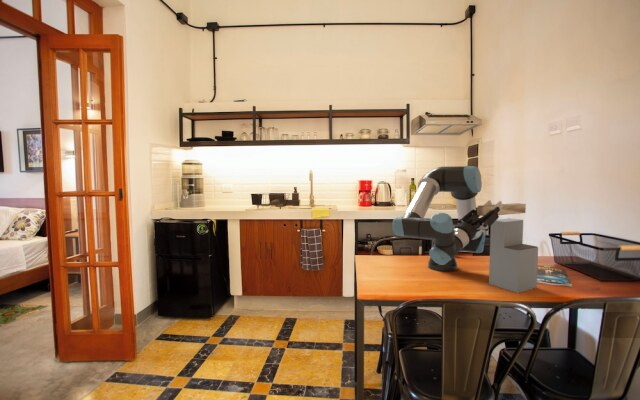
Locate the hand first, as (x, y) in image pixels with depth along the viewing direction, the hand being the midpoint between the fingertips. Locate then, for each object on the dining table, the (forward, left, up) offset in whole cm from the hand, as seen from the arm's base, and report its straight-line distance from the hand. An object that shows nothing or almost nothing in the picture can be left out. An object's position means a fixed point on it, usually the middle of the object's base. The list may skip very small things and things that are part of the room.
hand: (495, 203), depth 136 cm
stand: (-14, +12, -39) cm, 43 cm away
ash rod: (-3, +3, -5) cm, 6 cm away
